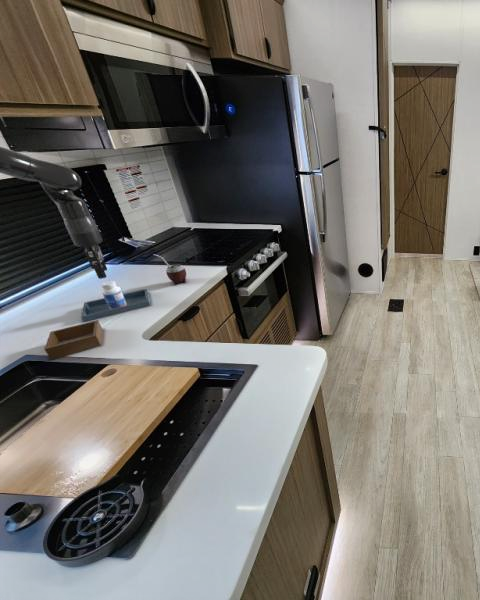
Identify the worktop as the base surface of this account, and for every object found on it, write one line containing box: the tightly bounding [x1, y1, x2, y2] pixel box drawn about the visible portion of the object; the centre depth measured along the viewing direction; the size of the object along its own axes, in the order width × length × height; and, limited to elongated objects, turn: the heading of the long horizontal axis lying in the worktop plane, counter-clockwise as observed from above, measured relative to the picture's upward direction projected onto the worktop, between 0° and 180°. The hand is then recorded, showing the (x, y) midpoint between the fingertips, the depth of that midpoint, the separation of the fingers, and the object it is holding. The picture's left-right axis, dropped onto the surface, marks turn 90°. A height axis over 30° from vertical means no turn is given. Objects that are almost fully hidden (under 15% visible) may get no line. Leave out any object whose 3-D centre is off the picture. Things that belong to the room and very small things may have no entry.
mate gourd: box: [152, 253, 187, 286], centre depth 141 cm, size 8×8×15 cm
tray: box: [80, 288, 151, 323], centre depth 125 cm, size 20×14×3 cm
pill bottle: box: [100, 280, 127, 309], centre depth 123 cm, size 6×5×10 cm
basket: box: [44, 319, 104, 361], centre depth 103 cm, size 12×12×4 cm
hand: (103, 274), depth 119 cm, fingers open, 8 cm apart
